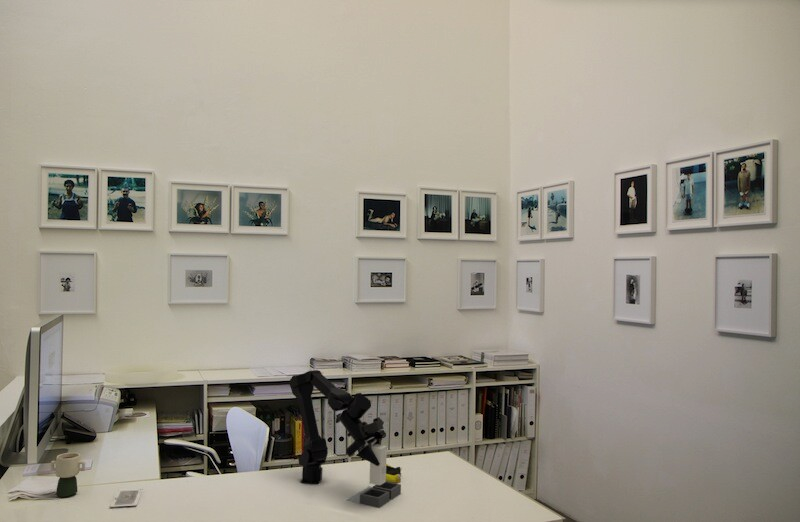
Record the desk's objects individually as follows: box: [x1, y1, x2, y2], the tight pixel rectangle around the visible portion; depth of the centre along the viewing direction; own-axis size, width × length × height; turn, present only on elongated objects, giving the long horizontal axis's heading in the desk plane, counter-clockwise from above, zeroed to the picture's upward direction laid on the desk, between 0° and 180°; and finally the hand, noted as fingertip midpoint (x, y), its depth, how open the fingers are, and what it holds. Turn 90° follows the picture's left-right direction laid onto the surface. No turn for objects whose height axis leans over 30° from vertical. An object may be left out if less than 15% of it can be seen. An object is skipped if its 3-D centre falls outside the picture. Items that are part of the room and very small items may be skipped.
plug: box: [369, 444, 388, 486], centre depth 209 cm, size 4×4×12 cm
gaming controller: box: [386, 463, 403, 484], centre depth 232 cm, size 15×6×10 cm
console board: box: [345, 482, 402, 509], centre depth 213 cm, size 13×16×4 cm
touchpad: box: [109, 488, 144, 508], centre depth 205 cm, size 8×15×2 cm, turn 15°
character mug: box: [50, 452, 86, 498], centre depth 207 cm, size 11×7×13 cm, turn 95°
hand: (381, 463), depth 208 cm, fingers closed on plug, 4 cm apart
